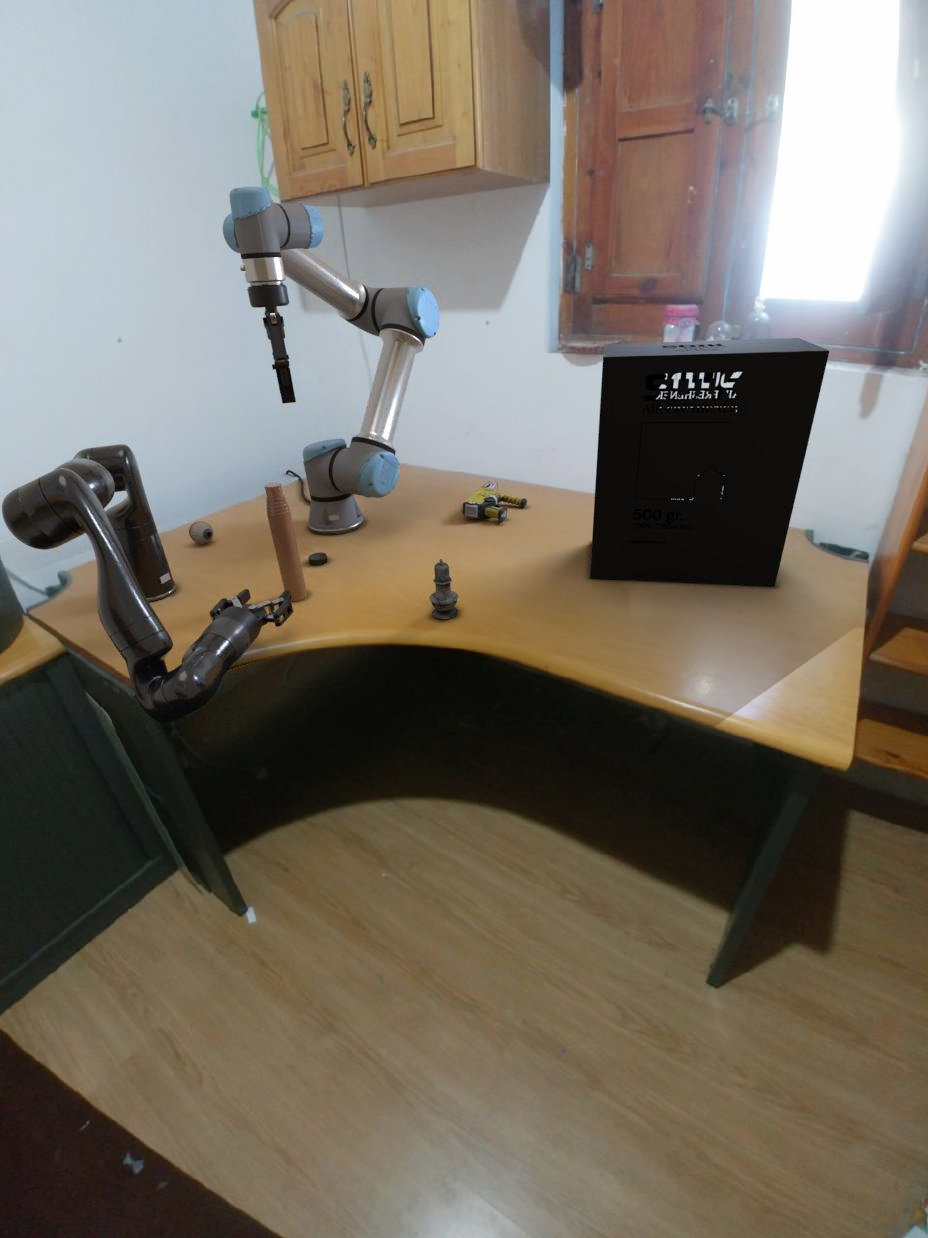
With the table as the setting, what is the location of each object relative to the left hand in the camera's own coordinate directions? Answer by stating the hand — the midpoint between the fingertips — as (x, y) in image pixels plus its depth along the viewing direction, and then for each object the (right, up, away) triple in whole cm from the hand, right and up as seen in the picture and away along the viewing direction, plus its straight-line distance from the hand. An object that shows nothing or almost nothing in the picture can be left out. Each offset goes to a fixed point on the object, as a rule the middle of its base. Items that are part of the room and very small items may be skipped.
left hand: (268, 593), depth 119 cm
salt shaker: (+35, -4, +3) cm, 35 cm away
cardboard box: (+87, +8, +18) cm, 89 cm away
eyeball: (-31, +15, +43) cm, 56 cm away
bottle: (+2, 0, +13) cm, 13 cm away
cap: (+3, +10, +28) cm, 30 cm away
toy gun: (+49, +27, +55) cm, 78 cm away
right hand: (+1, +42, +10) cm, 43 cm away
